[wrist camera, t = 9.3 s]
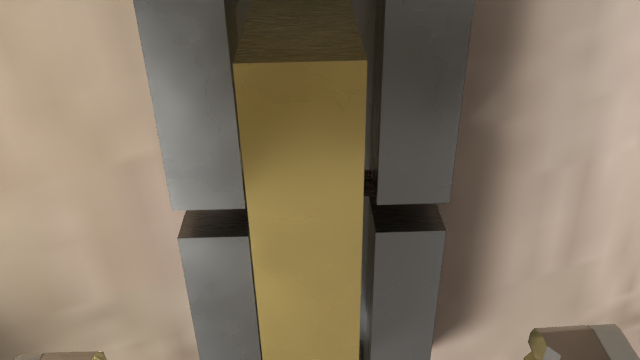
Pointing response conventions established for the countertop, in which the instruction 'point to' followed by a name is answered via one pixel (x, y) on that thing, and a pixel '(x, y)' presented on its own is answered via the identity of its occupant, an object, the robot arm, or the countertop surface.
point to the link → (376, 280)
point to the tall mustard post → (304, 173)
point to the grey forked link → (381, 96)
